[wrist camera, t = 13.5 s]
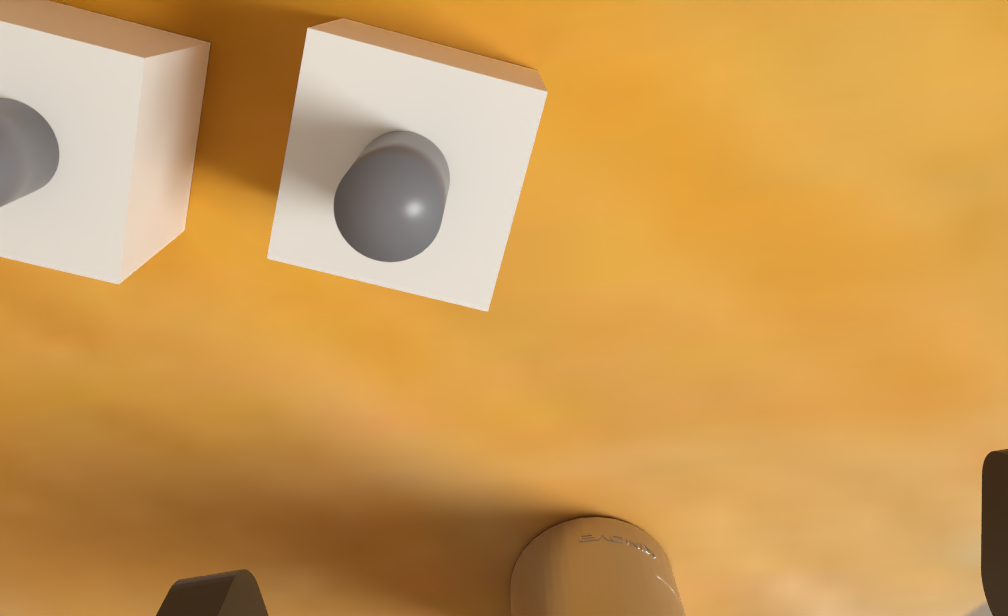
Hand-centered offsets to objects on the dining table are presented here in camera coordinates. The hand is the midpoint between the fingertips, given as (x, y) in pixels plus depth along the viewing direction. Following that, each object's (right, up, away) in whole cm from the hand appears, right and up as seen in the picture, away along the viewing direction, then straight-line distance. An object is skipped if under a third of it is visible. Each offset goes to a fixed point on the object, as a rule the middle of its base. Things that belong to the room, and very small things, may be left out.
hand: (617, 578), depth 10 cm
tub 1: (-5, +11, +32) cm, 34 cm away
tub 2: (-20, +12, +31) cm, 39 cm away
